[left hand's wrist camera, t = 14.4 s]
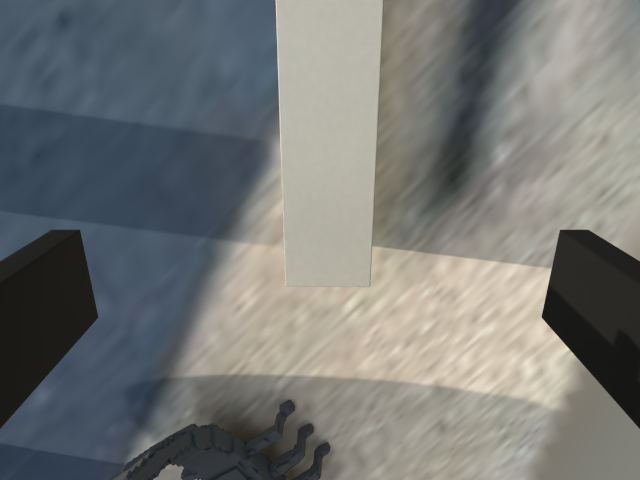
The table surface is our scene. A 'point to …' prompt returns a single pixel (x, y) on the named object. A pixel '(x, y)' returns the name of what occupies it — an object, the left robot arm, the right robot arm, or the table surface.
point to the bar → (328, 137)
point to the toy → (225, 454)
